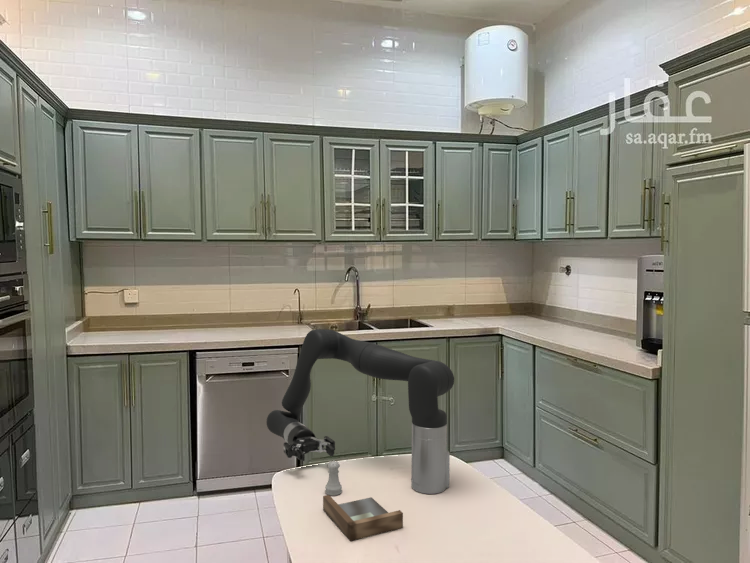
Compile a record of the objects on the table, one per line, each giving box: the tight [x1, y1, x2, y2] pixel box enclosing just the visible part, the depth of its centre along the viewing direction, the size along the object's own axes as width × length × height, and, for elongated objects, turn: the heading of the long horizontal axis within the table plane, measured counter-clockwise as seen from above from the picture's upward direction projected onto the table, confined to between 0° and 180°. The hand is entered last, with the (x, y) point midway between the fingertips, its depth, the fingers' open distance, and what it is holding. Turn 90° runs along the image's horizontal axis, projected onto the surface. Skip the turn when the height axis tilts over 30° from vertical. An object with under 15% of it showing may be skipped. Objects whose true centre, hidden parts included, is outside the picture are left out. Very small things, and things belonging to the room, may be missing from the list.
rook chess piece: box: [324, 459, 343, 497], centre depth 141 cm, size 4×4×8 cm
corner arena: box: [322, 494, 404, 542], centre depth 127 cm, size 13×16×4 cm
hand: (318, 455), depth 151 cm, fingers open, 8 cm apart
